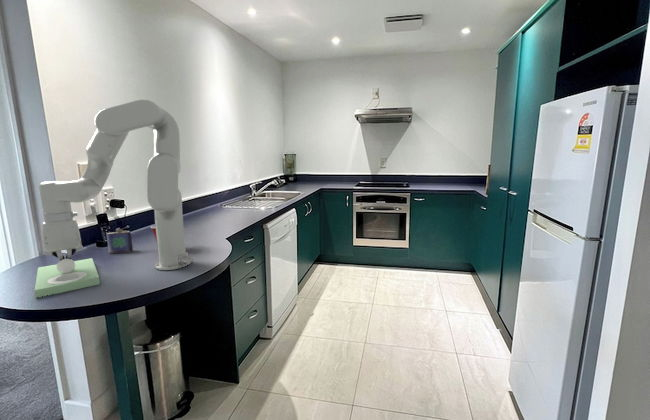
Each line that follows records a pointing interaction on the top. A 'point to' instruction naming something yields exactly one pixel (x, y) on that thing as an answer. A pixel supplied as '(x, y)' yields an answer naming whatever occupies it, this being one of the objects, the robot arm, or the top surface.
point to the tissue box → (65, 278)
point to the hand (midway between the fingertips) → (66, 268)
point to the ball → (66, 266)
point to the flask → (119, 241)
